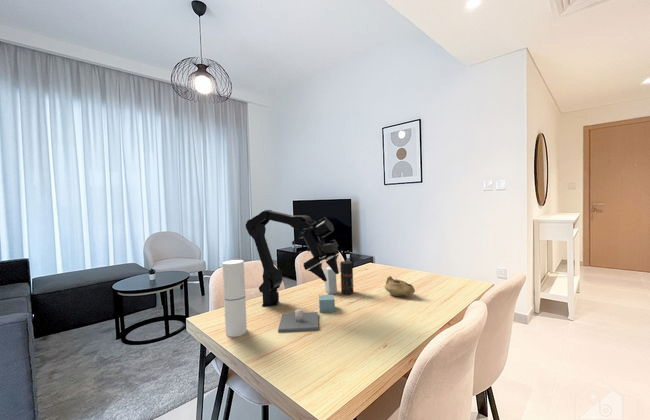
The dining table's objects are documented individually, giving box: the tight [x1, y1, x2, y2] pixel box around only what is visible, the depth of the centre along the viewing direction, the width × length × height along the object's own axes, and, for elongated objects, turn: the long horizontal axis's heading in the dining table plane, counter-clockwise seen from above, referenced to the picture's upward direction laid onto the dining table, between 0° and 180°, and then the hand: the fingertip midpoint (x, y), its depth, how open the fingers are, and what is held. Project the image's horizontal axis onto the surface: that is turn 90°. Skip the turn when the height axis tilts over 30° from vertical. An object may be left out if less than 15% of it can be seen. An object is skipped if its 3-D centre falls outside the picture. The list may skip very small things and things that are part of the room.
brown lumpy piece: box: [384, 275, 416, 297], centre depth 134 cm, size 11×15×8 cm
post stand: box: [277, 308, 319, 333], centre depth 107 cm, size 14×14×5 cm
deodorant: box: [340, 260, 354, 296], centre depth 140 cm, size 6×6×15 cm
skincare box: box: [323, 266, 338, 295], centre depth 141 cm, size 6×4×12 cm
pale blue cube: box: [318, 294, 336, 313], centre depth 119 cm, size 6×6×5 cm
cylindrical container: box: [221, 259, 248, 338], centre depth 101 cm, size 7×7×25 cm
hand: (332, 277), depth 115 cm, fingers open, 9 cm apart
